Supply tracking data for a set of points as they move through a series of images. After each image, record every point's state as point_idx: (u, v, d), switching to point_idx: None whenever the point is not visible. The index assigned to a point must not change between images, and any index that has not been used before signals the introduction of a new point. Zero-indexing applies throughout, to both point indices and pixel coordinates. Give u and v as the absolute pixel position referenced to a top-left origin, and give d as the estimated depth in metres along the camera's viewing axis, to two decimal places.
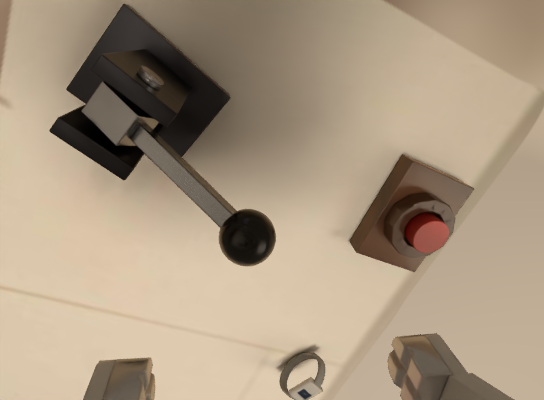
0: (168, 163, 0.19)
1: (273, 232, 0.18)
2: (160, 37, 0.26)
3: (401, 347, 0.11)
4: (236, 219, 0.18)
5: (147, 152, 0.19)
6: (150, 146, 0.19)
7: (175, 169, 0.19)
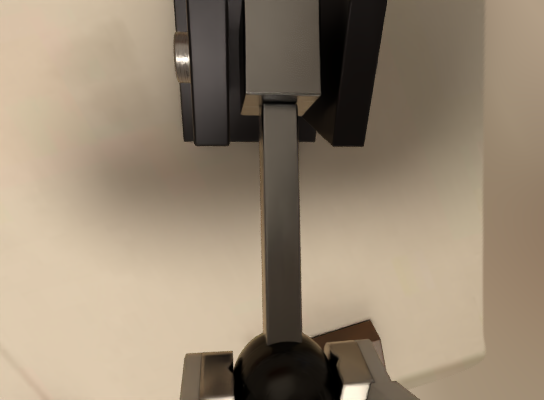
0: (283, 190, 0.10)
1: None
2: None
3: (329, 354, 0.11)
4: (310, 361, 0.10)
5: (269, 145, 0.10)
6: (282, 143, 0.10)
7: (285, 207, 0.10)
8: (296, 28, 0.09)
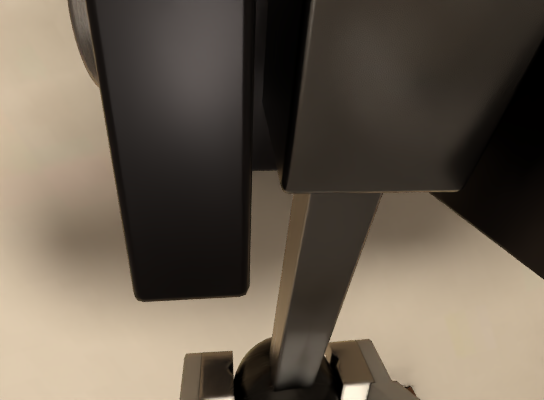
0: (326, 284, 0.06)
1: None
2: None
3: (330, 354, 0.11)
4: None
5: (316, 233, 0.05)
6: (341, 229, 0.05)
7: (323, 301, 0.06)
8: (482, 18, 0.03)
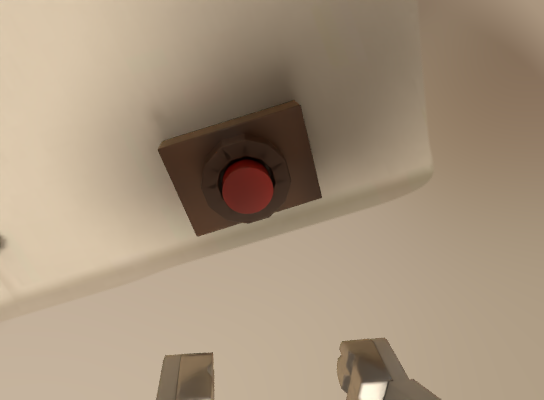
0: None
1: None
2: None
3: (346, 352, 0.11)
4: None
5: None
6: None
7: None
8: None
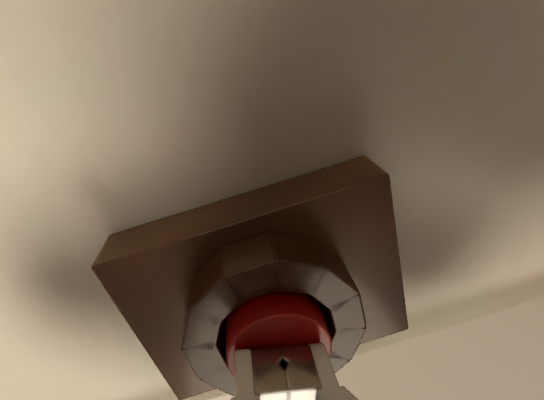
0: None
1: None
2: None
3: (281, 358, 0.10)
4: None
5: None
6: None
7: None
8: None
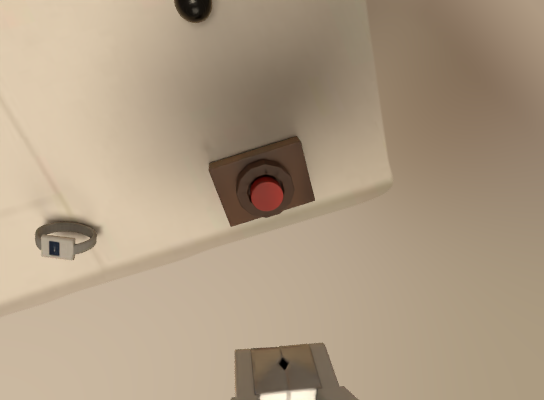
0: None
1: (209, 13, 0.30)
2: None
3: (281, 358, 0.10)
4: None
5: None
6: None
7: None
8: None
